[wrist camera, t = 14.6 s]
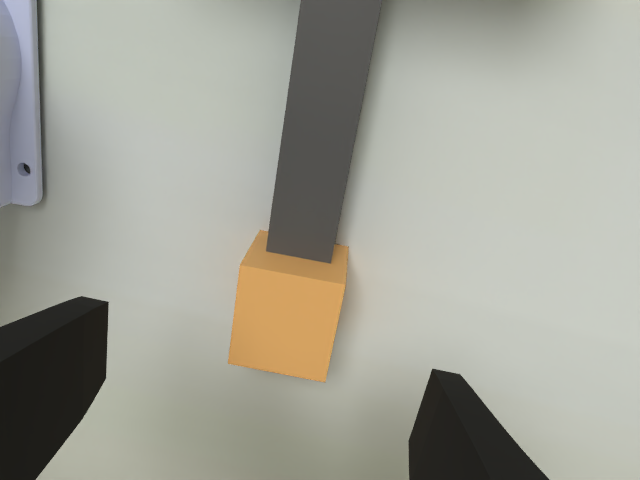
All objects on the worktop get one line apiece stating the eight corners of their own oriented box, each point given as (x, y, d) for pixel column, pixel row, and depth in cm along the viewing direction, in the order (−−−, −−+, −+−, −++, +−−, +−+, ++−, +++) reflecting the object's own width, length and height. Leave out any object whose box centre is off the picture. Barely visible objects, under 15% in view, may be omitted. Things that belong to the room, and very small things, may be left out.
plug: (330, 331, 21) (325, 382, 18) (248, 315, 21) (227, 363, 18) (406, -34, 16) (417, -55, 13) (297, -53, 16) (281, -79, 13)
